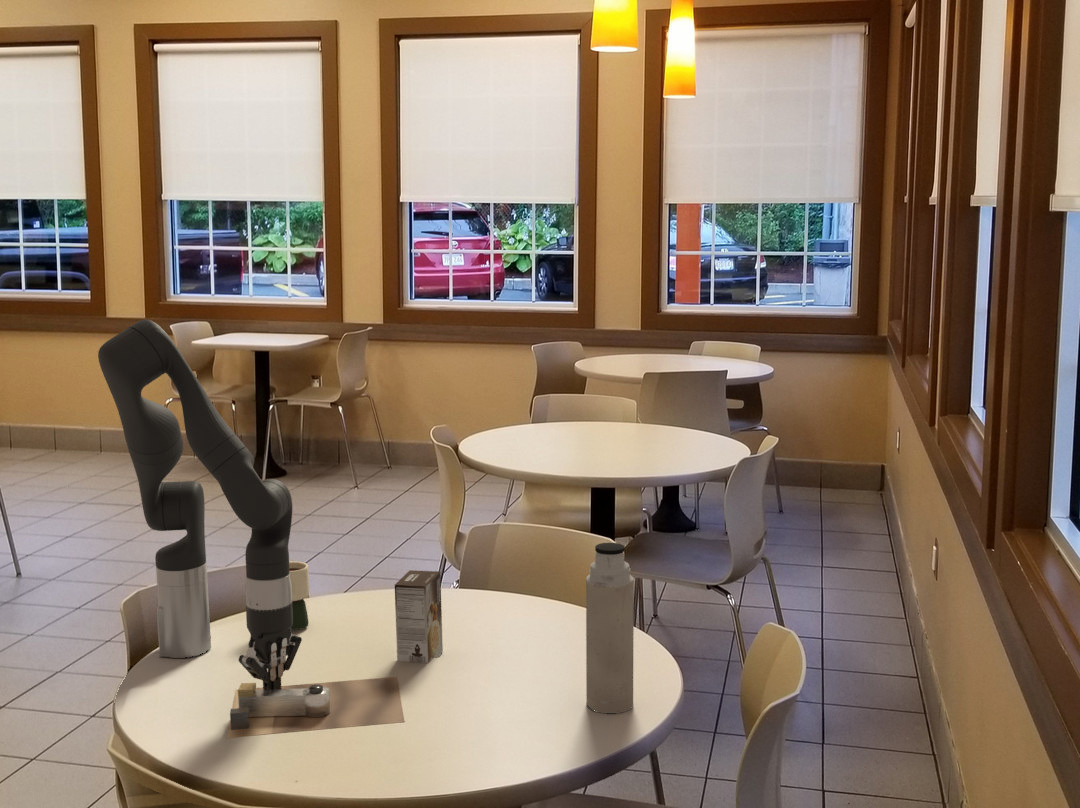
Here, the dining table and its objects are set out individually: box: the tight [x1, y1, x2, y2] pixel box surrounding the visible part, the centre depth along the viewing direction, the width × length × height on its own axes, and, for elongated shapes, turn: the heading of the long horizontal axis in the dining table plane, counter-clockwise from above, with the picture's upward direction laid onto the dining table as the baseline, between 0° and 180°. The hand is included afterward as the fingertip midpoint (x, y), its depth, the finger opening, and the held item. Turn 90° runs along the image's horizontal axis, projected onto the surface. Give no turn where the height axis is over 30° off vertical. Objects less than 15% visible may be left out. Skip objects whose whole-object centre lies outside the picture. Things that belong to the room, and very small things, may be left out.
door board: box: [226, 676, 405, 739], centre depth 194 cm, size 28×19×1 cm
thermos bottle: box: [585, 542, 635, 714], centre depth 194 cm, size 8×8×28 cm
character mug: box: [289, 561, 310, 631], centre depth 233 cm, size 11×7×13 cm, turn 162°
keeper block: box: [229, 707, 250, 730], centre depth 185 cm, size 3×2×3 cm, turn 101°
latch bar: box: [237, 682, 331, 717], centre depth 190 cm, size 15×4×5 cm, turn 92°
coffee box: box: [394, 569, 444, 664], centre depth 215 cm, size 9×6×16 cm
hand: (272, 698), depth 194 cm, fingers closed
